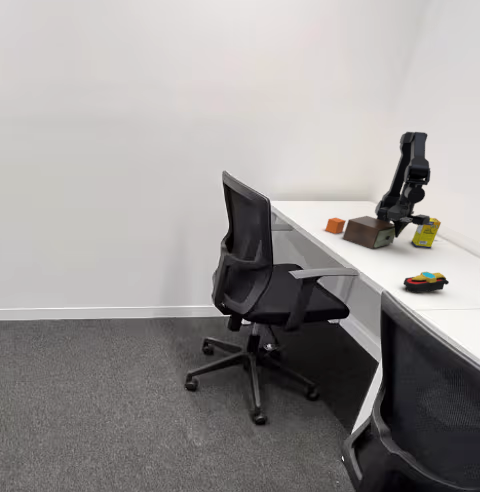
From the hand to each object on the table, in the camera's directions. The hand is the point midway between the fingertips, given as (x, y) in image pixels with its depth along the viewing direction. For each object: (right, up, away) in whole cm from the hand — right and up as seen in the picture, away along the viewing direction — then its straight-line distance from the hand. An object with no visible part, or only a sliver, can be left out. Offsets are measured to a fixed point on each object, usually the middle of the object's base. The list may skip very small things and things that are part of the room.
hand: (396, 237), depth 220 cm
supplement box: (+13, -2, +6) cm, 15 cm away
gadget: (-11, -27, -34) cm, 45 cm away
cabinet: (-8, 0, +7) cm, 11 cm away
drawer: (-7, 0, +5) cm, 9 cm away
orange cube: (-17, +7, +17) cm, 25 cm away
